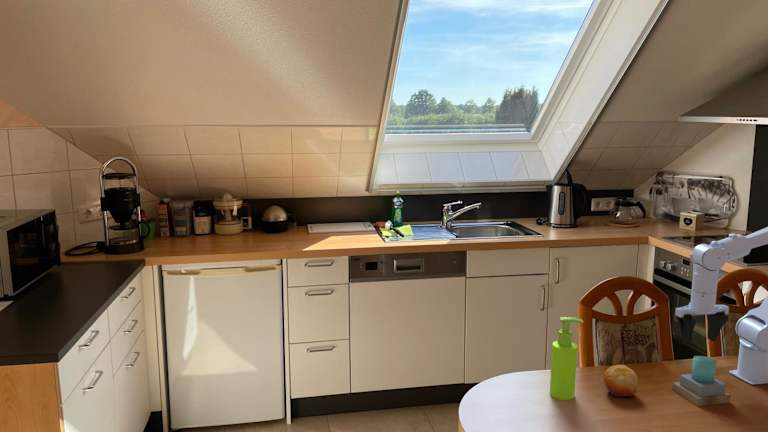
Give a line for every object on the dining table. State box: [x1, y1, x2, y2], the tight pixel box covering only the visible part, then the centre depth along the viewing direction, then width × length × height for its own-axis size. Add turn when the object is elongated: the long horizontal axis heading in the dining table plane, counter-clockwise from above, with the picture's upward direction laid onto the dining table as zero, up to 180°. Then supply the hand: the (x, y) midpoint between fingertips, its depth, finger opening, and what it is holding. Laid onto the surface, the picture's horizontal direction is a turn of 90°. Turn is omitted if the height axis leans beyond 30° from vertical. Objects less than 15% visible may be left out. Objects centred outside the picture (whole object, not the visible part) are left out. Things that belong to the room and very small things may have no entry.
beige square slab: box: [671, 381, 732, 407], centre depth 147 cm, size 9×9×2 cm
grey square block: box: [679, 373, 726, 397], centre depth 146 cm, size 7×7×2 cm
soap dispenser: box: [549, 316, 584, 401], centre depth 145 cm, size 6×7×20 cm
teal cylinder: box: [691, 355, 717, 383], centre depth 146 cm, size 5×5×5 cm
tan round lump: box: [603, 364, 639, 398], centre depth 148 cm, size 8×8×8 cm
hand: (699, 341), depth 155 cm, fingers open, 7 cm apart
